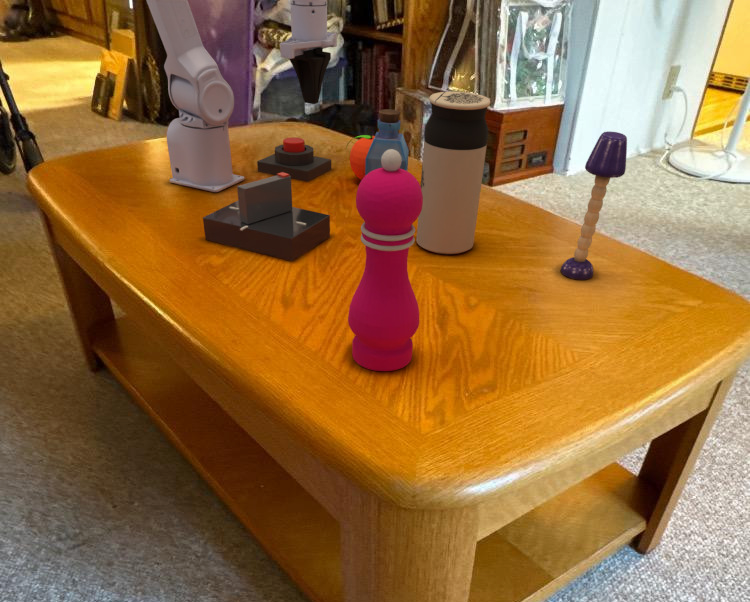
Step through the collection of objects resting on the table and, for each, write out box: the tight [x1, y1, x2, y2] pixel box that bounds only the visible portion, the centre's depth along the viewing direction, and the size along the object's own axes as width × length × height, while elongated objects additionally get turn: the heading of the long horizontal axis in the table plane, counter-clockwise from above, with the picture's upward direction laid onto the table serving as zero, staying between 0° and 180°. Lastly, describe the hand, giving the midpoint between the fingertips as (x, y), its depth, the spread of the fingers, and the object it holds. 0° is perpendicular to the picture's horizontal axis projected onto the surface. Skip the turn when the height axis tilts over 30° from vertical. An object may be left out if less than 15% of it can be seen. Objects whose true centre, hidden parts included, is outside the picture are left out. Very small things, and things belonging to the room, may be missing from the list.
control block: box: [256, 144, 332, 183], centre depth 116 cm, size 10×8×4 cm
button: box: [282, 136, 306, 153], centre depth 114 cm, size 4×4×2 cm
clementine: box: [345, 134, 375, 181], centre depth 112 cm, size 8×7×7 cm
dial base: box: [202, 200, 331, 262], centre depth 93 cm, size 14×12×3 cm
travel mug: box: [415, 91, 491, 255], centre depth 89 cm, size 8×8×18 cm
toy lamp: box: [560, 131, 628, 281], centre depth 83 cm, size 5×5×17 cm
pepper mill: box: [347, 149, 423, 372], centre depth 65 cm, size 7×7×20 cm
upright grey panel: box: [236, 172, 293, 224], centre depth 91 cm, size 8×2×5 cm, turn 138°
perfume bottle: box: [365, 108, 410, 176], centre depth 105 cm, size 6×6×12 cm
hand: (311, 102), depth 115 cm, fingers closed
